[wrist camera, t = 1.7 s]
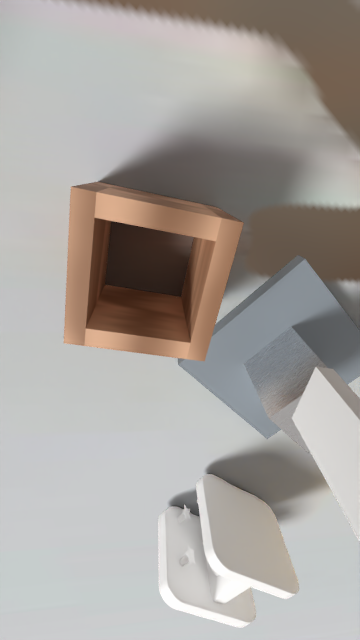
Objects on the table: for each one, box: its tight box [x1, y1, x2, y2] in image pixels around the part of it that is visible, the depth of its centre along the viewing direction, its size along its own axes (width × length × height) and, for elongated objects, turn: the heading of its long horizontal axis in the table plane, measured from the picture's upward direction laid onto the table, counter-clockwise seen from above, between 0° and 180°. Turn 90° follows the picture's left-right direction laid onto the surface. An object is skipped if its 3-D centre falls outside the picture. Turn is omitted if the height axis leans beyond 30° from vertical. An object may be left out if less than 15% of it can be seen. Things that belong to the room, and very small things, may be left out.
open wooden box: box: [64, 182, 244, 361], centre depth 24 cm, size 10×10×9 cm
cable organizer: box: [158, 474, 299, 628], centre depth 40 cm, size 15×11×12 cm
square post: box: [243, 327, 327, 453], centre depth 29 cm, size 6×6×8 cm
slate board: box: [178, 255, 360, 439], centre depth 33 cm, size 16×16×2 cm
